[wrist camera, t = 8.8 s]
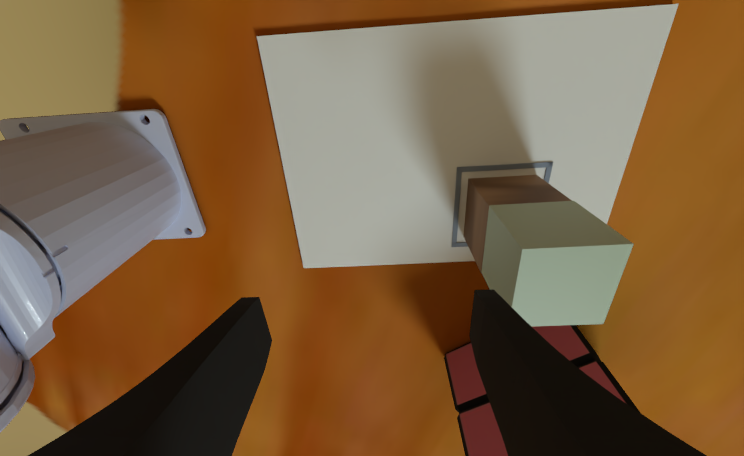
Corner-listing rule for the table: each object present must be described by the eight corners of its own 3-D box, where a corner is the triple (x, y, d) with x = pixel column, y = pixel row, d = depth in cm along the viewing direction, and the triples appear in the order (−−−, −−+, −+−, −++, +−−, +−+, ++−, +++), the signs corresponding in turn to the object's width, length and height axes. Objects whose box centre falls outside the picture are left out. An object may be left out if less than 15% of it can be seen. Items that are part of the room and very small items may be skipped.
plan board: (304, 265, 22) (303, 268, 22) (258, 36, 16) (255, 36, 15) (593, 253, 21) (597, 256, 21) (673, 4, 15) (680, 3, 15)
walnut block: (463, 236, 21) (480, 272, 17) (468, 178, 19) (489, 205, 15) (525, 233, 20) (556, 270, 17) (536, 174, 19) (573, 201, 15)
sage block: (481, 272, 17) (507, 327, 14) (489, 205, 15) (522, 249, 12) (556, 268, 17) (603, 323, 13) (573, 200, 15) (633, 243, 12)
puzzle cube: (441, 352, 27) (472, 498, 18) (557, 299, 24) (663, 442, 15) (494, 411, 30) (542, 556, 21) (600, 371, 27) (707, 520, 18)
